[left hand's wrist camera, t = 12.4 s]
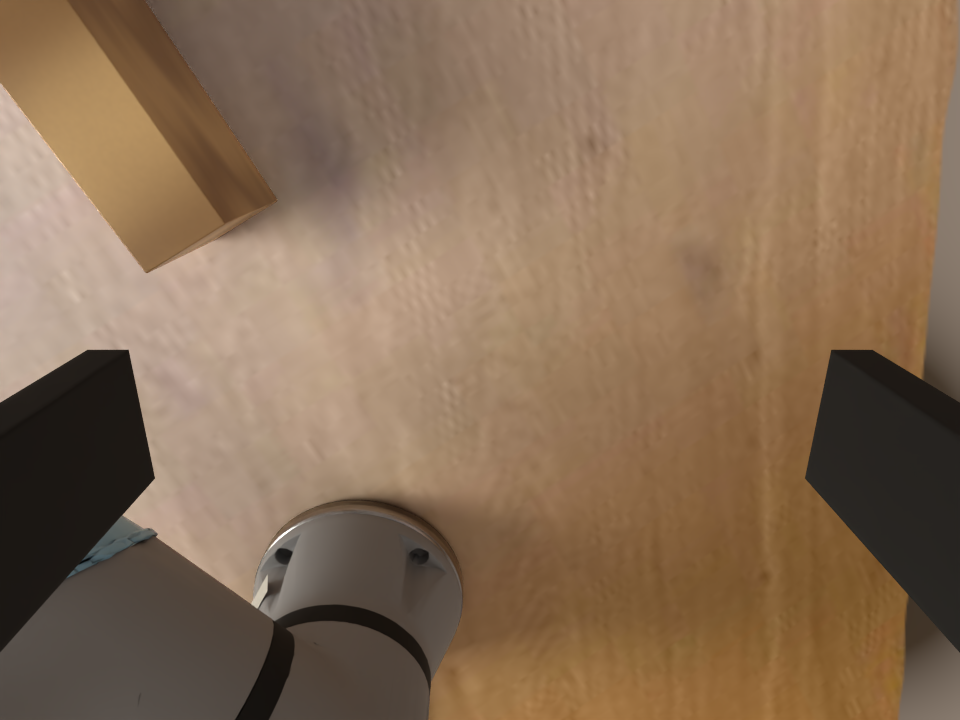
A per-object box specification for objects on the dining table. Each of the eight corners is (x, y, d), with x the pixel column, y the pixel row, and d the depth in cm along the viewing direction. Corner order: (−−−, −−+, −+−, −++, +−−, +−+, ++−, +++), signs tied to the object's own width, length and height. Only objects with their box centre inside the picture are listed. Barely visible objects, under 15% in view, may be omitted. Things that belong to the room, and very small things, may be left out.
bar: (279, 200, 39) (225, 224, 31) (213, 240, 40) (145, 274, 32) (4, -213, 32) (-160, -325, 24) (-68, -153, 33) (-250, -241, 25)
